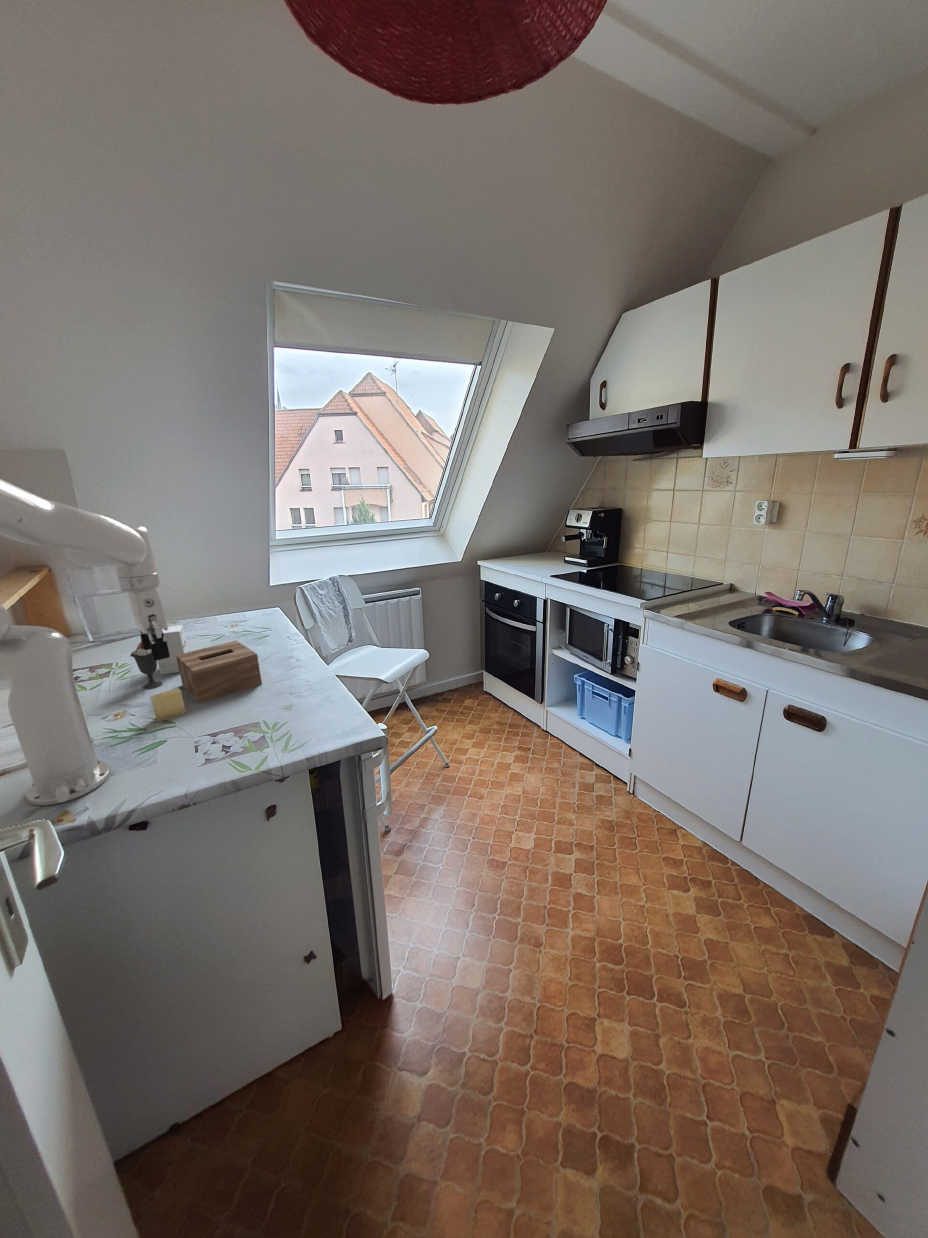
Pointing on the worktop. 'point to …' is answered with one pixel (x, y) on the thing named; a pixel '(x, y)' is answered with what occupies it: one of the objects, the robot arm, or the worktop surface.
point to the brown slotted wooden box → (218, 670)
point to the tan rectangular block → (168, 704)
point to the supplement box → (173, 649)
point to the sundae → (146, 665)
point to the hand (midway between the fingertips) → (156, 653)
